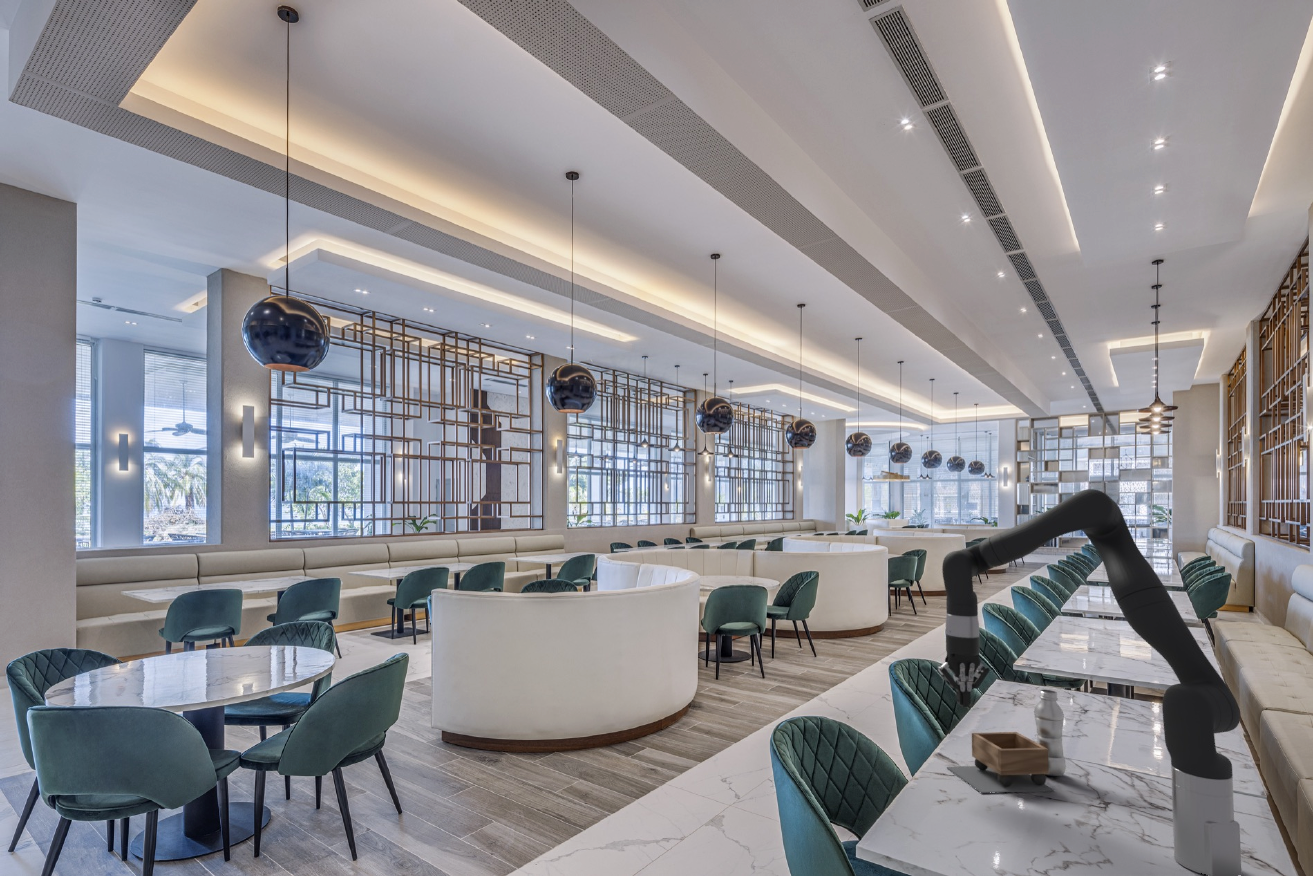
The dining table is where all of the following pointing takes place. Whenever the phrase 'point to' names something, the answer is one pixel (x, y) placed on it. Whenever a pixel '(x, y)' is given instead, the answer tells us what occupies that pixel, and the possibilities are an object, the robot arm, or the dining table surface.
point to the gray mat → (996, 781)
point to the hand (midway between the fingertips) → (963, 706)
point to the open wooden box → (1010, 756)
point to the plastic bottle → (1050, 730)
